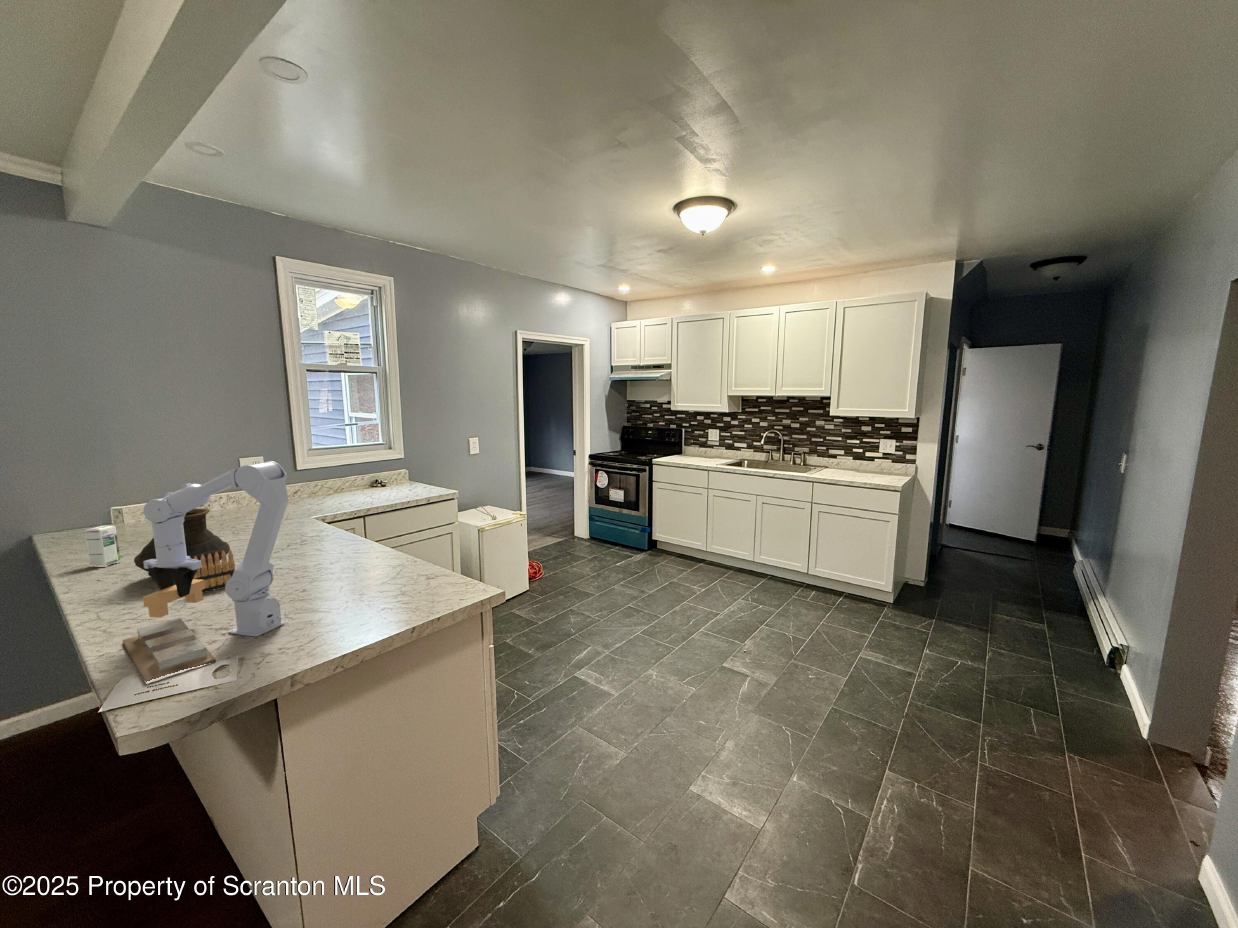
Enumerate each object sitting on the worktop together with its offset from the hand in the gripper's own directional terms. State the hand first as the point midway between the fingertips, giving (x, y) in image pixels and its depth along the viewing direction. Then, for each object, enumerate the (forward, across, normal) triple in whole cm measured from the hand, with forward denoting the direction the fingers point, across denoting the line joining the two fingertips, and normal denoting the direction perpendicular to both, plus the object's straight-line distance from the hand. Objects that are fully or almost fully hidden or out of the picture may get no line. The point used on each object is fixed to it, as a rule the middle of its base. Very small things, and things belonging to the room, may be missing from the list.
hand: (176, 595), depth 125 cm
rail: (+10, -9, +10) cm, 16 cm away
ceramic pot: (+10, +41, -38) cm, 57 cm away
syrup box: (+10, +83, -46) cm, 95 cm away
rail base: (+10, -9, +10) cm, 16 cm away
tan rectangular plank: (+3, 0, 0) cm, 3 cm away
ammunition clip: (+10, +19, -28) cm, 35 cm away
